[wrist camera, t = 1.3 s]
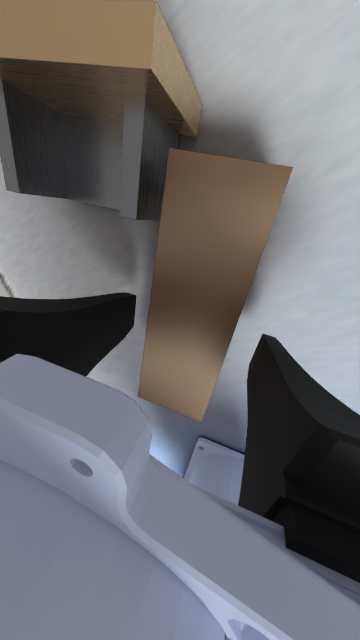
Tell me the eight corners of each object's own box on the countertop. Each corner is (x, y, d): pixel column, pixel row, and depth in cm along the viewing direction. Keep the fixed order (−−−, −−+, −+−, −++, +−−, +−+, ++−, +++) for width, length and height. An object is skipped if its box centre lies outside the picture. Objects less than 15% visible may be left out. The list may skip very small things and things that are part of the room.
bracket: (182, 223, 12) (138, 224, 8) (56, 195, 14) (-44, 182, 9) (202, 105, 10) (156, 1, 5) (47, 88, 12) (-93, -2, 7)
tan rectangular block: (215, 368, 16) (201, 422, 12) (167, 352, 17) (137, 396, 13) (276, 189, 11) (293, 167, 6) (201, 175, 11) (169, 148, 7)
